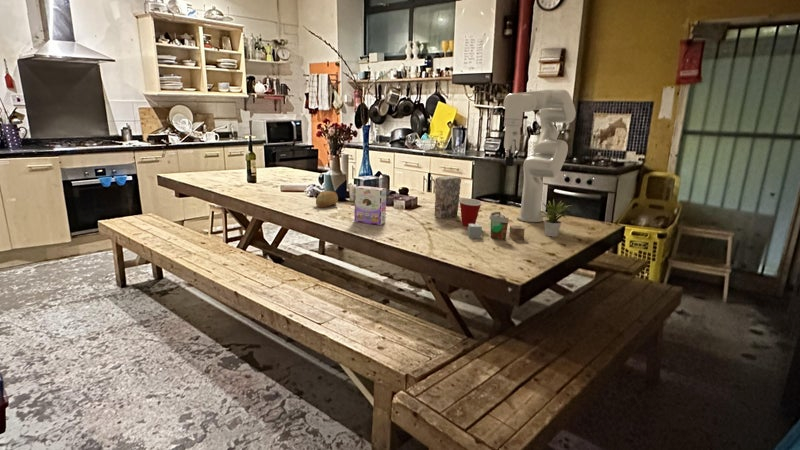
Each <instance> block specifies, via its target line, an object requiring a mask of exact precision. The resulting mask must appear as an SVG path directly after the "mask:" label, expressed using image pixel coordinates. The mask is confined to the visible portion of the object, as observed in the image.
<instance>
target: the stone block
mask: <svg viewBox="0 0 800 450" xmlns="http://www.w3.org/2000/svg"><path fill="white" fill-rule="evenodd" d="M434 180H435V181H434V182H435V183H434V188H435V189H434V191H435V192H434V194H435V195H434V197H435V200H434V217H436V218H439V219H442V220H443V219H448V218H452V217H457V216H458V212H459V206H460V202H459V200H460V193H461V183H462V179H461V178H460V177H458V176H454V175H448V176H447V175H446V176H438V177H436V178H435V179H434Z"/></svg>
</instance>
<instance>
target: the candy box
mask: <svg viewBox="0 0 800 450" xmlns="http://www.w3.org/2000/svg"><path fill="white" fill-rule="evenodd" d="M386 209H387V188H385V187H384V188H383V187H375V186H366V185H359V186H355V187H354V221H353V222H356V223H363V224H368V225H377V226H382V225H383V224H386V220H387V219H386V218H387V217H386V215H387V214H386V212H387V211H386Z"/></svg>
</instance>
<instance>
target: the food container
mask: <svg viewBox="0 0 800 450" xmlns="http://www.w3.org/2000/svg"><path fill="white" fill-rule="evenodd" d="M489 220H490V238H491V239H493V240H497V241H506V239H507V234H508V233H507V232H508V226H509V223H510V222H509V221H510V219H509V217H505V215H502V214H501V211H493V212H491V213H490V215H489Z"/></svg>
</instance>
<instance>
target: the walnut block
mask: <svg viewBox="0 0 800 450" xmlns="http://www.w3.org/2000/svg"><path fill="white" fill-rule="evenodd" d="M525 230H526V229H525V227H524V226H522V225H511V224H510V226H509V235H508V236H509V239H511V241H513V240H514V241H515V240H516V241H524V237H525Z"/></svg>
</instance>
